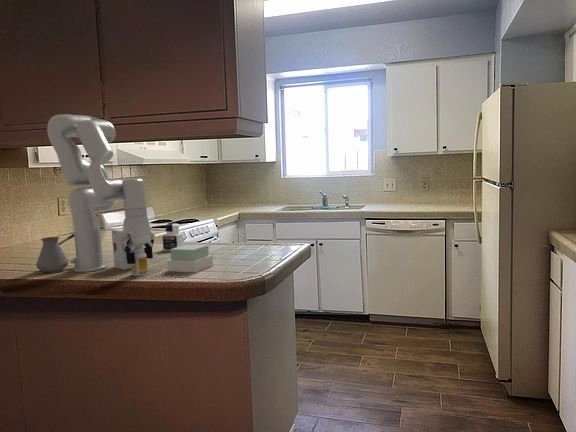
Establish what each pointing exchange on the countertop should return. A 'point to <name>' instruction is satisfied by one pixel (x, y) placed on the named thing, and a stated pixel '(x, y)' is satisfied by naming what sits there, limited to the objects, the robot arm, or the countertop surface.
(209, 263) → the block
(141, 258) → the supplement bottle
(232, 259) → the countertop surface
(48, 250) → the coffee pot
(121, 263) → the supplement box
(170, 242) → the medicine bottle
